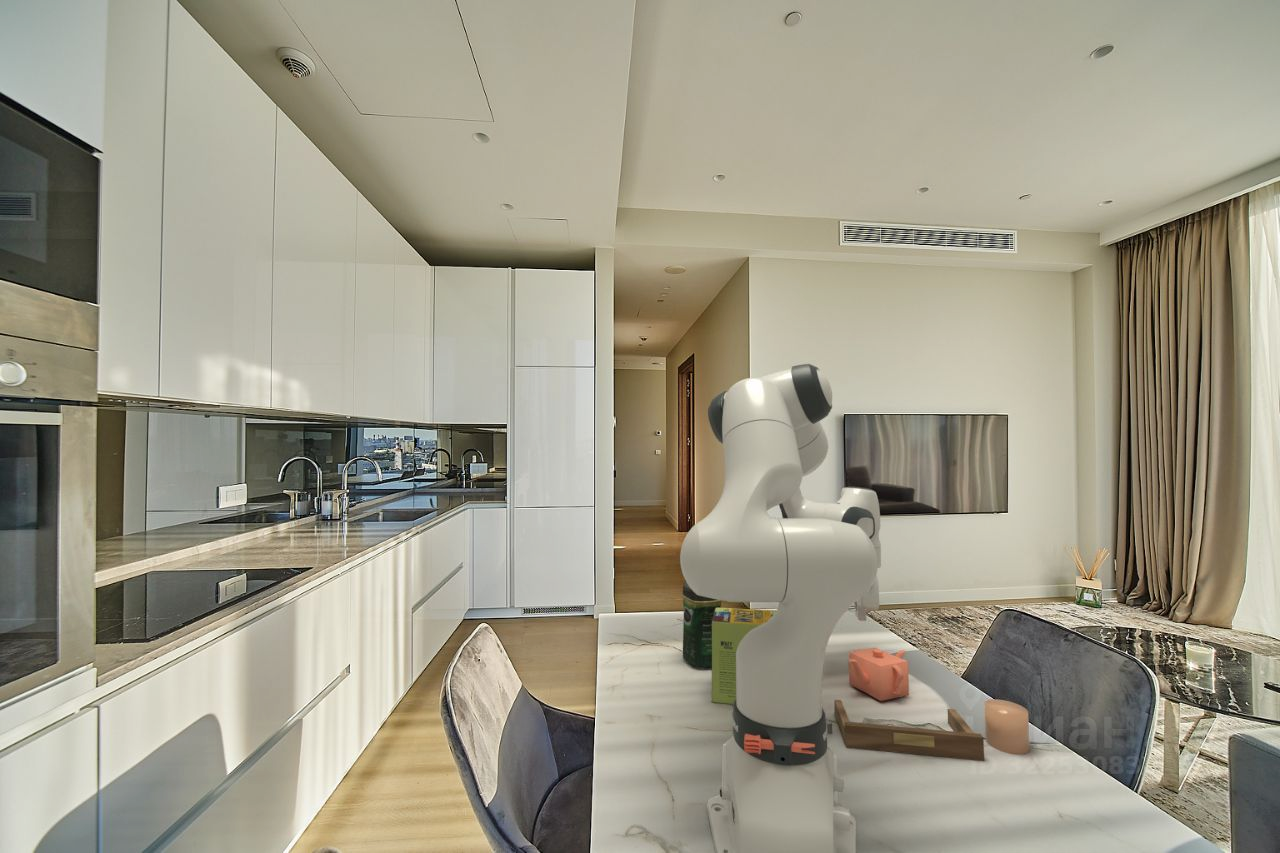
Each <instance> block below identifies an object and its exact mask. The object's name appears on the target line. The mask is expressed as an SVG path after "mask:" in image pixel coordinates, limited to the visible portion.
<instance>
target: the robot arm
mask: <svg viewBox="0 0 1280 853" xmlns="http://www.w3.org/2000/svg"><path fill="white" fill-rule="evenodd" d="M832 409H833V391H832V386H831V384H830V382H829V379H828V378H827V377H826V375H825V374H824V373H823V372H822V371H820V368H818V367H817V366H815V365H813V364H812V363H811V364H810V363H803V364H797V365H792V366H791V368H788V369H784V370H779V371H776V372H772V373H770V374H766V375H763V376H760V377H747V378H744V379H742V380H739V381H737V382H735V383H734V384H733V385H732V386H731V387H730V388H729V389H728V390H725V391H722V392H720V393H719V394H717V395H716V396H714V398H713V399H712V400H711V401H710V402H709V405H708V408H707V418H708V421H709V422H708V423H709V425H710V426H709V427H710V429H711V431H712V432H713V434H714V436H715V438H716V439H717V441H718V442H720V443H721V444H722V446H723V457H724V486H723V490H722V492H721V493H722V494H721V496H720V498H719V501H717V503H716V505H715V507H713V509H712V510H711V512H710V513H708V515H706V516H705V517H704V518H703V519H701V520H700V521H698V522H697V523H696V524H694V525H693V526H692V527H691V528H690V530H688V532H687V534H686V536H684V539H683V542H682V544H681V546H680V547H681V548H680V554H679V557H680V558H679V562H680V569H681V573H682V575H683V578H684V580H685V582H687V584H688V585H689V587H690V588H691V589H692V590H693V591H694V592H695V593H696V594H697V595H699V596H703V597H707V598H712V599H717V600H722V601H721V602H729V603H778V606H777V609H776V610H775V611H776V612H775V613H774V615H773V616H772V617H771V618H770V619H769V620H768V621H767V622H765V623H764V624H762V625H760V626H758V627H756V628H754V629H752V630H751V631H749V632H748V633H747V634H746V635H745V636H744V637H743V639H742V640H741V641H740V643H739V645H738V648H737V651H736V700H735V701H734V704H732V706H733V707H732V712H731V714H732V715H731V721H732V736H731V737H729V739H728V740H727V741H725V742H724V743H723V744H722V759H721V760H722V764H721V765H722V768H721V769H722V771H721V772H722V773H721V776H722V778H721V781H722V782H721V784H722V785H721V786H720V789H719V794H716V795H714V796H711V797H710V798H708V800H707V803H706V811H707V817H708V821H709V825H710V830H711V836H712V842H713V846H714V852H715V853H857V822H856V818H855V816H853V815H852V814H851V813H850V809H849V807H845V806H844V804H843V803H839V802H838V798H839V797H838V795H839V794H838V792H840V793H844V779H842V778H838V757H837V755H836V754H835V753H834V752H833V751H832V750H831V749H830V747H828V734H827V722H826V719H827V718H826V717H827V716H826V711H825V709H823V683H824V682H823V680H824V679H823V677H824V667H825V666H824V664H825V663H824V662H825V654H826V651H827V646H828V642H829V641H830V638H831V635H832V634H833V631H834V629H835V627H836V626H837V624H838V622H839V621H840V619H841V618H842V617H843V615H844V614H845V613H846V612H847V610H848V609H849V608H851V607H852V605H854V609H855V610H854V611H855V613H854V614H855V617H856V618H857V620H859V621H860V622H861V621H862V622H865V621H867V613H868V611H878V610H879V607H880V591H879V590H880V589H879V580H878V575H877V573H878V569H880V568H881V567H882V550H881V548H882V544H881V541H880V536H879V535H880V531H881V513H880V511H881V510H880V504H879V499H878V495H877V492H876V491H875V490H873V489H871V488H867V487H860V486H845V487H842V489H841V492H840V498H839V499H838V500H837V501H836V502H835V503H834V502H821V501H820V502H819V501H814V500H810V499H807V498H805V497H804V496H803V494H802V491H801V488H800V487H801V484H802V481H803V477H806V476H808V475H810V474H812V473H813V472H815V471H816V470H817V469H818V468H819V467H821V465H822V464H823V463H824V461H825V459H826V458H827V455H828V452H829V451H828V450H829V441H828V437H827V435H826V431H825V429H824V428H823V426H822V424H821V421H822V420H824V419H825V418H826V417H828V416H829V414H830V413H831V410H832ZM776 506H779V508H780V512H781V518H780V517H778V518H776V517H773V516H769V513H768V511H769V510H771V509H772V508H775V507H776Z"/></svg>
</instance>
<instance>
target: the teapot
mask: <svg viewBox="0 0 1280 853" xmlns="http://www.w3.org/2000/svg"><path fill="white" fill-rule="evenodd" d="M906 652H907V651H906V650H898V651H897V652H896V654H895V655H893V654H892V653H889V652H888V651H887V652H886V651H884V650H882V649H879V648H877V647H871V648H866V649H865V648H864V649H859V650H855V651H854V650H853V651H849V652H848V660H847V661H848V669H849V670H848V672H849V673H848V674H849V675H848V676H849V678H848V679H849V680H848V681H849V685H851V686H852V687H854V688H856V689H858V690H859V691H862V692H864V693H866V694H867V695H869V696H871V697H873V698H874V699H876V700H879V701H881V702H884V701H889V700H892V699H897V698H900V697H906V696H909V695H910V688H909V687H910V682H909V681H910V680H909V661H908V660H905V659H904V658H903V656H904V655H905V653H906Z"/></svg>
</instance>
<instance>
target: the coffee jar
mask: <svg viewBox="0 0 1280 853" xmlns="http://www.w3.org/2000/svg"><path fill="white" fill-rule="evenodd" d="M682 586H683V587H682V603H683V605H682V606H683V628H682V630H683V631H682V632H683V633H682V634H683V636H682V658H683V659H684V661H685V662H686V663H687V664H689V665H690V666H691V667H693V668H696V669H705V670H710V669H711V670H712V619H713V616H714V612H715V608H722V607H721V606H722V602H723V601H722V600H717V599H712V598H707V597H703V596H699V595H697V594H696V593H695V592H694V591H693V590H692V589H691V588H690V587H689V585H688V584H687V582H686V581H685V582H684V583H683V585H682Z"/></svg>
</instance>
